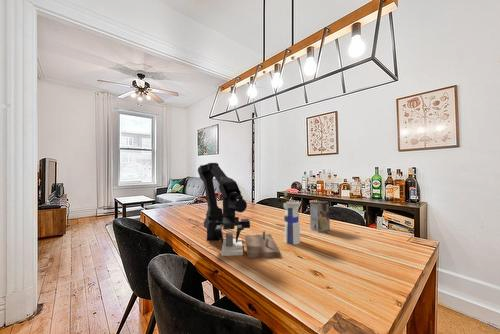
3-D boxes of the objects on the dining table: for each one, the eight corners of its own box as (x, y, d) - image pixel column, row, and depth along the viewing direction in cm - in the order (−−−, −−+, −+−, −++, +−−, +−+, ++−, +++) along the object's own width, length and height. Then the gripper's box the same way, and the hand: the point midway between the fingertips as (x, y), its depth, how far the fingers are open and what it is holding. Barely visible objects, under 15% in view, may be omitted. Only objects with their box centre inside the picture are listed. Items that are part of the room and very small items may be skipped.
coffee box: (321, 227, 128) (321, 200, 128) (330, 230, 123) (329, 202, 123) (310, 229, 124) (309, 201, 124) (318, 232, 118) (318, 203, 118)
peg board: (248, 257, 88) (247, 244, 87) (245, 239, 109) (245, 228, 109) (279, 256, 88) (279, 243, 88) (270, 238, 110) (270, 227, 110)
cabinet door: (221, 255, 90) (221, 240, 90) (223, 242, 106) (223, 228, 106) (242, 255, 90) (242, 239, 90) (241, 241, 106) (241, 228, 106)
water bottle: (280, 243, 103) (280, 191, 103) (286, 237, 111) (286, 189, 110) (297, 246, 99) (297, 192, 99) (302, 240, 107) (302, 190, 107)
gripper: (206, 213, 89) (206, 250, 89) (250, 211, 90) (251, 248, 91) (209, 207, 100) (209, 241, 100) (249, 206, 101) (249, 239, 102)
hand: (229, 242), depth 98 cm, fingers open, 6 cm apart
